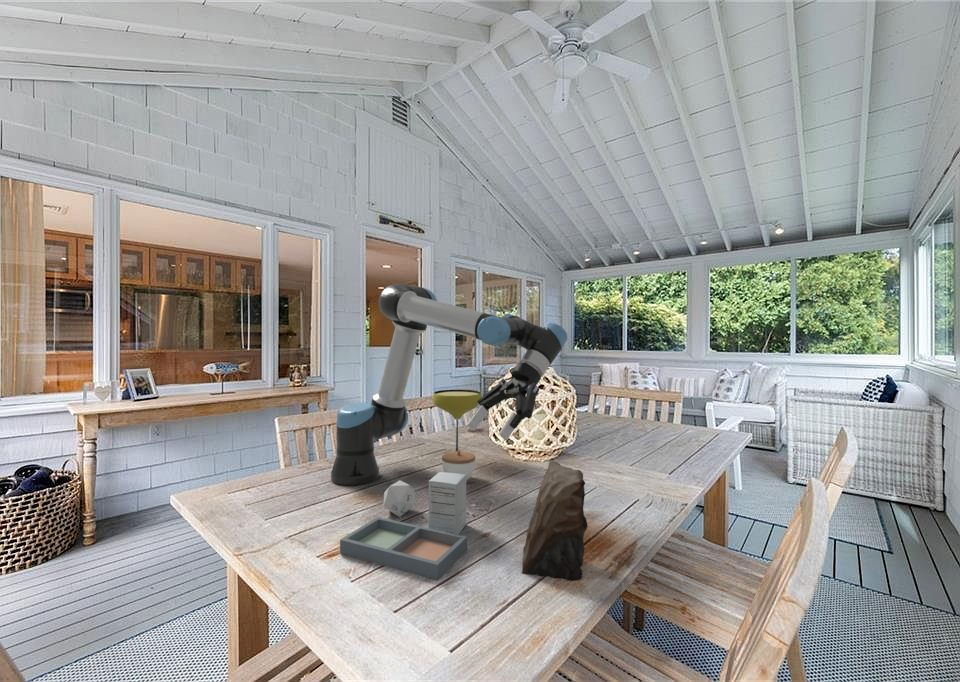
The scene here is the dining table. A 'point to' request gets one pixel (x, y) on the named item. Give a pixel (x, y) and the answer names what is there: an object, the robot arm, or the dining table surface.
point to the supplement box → (447, 502)
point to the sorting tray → (405, 547)
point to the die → (399, 498)
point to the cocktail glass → (456, 403)
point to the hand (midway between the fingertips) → (485, 432)
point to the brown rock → (557, 526)
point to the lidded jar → (459, 463)
